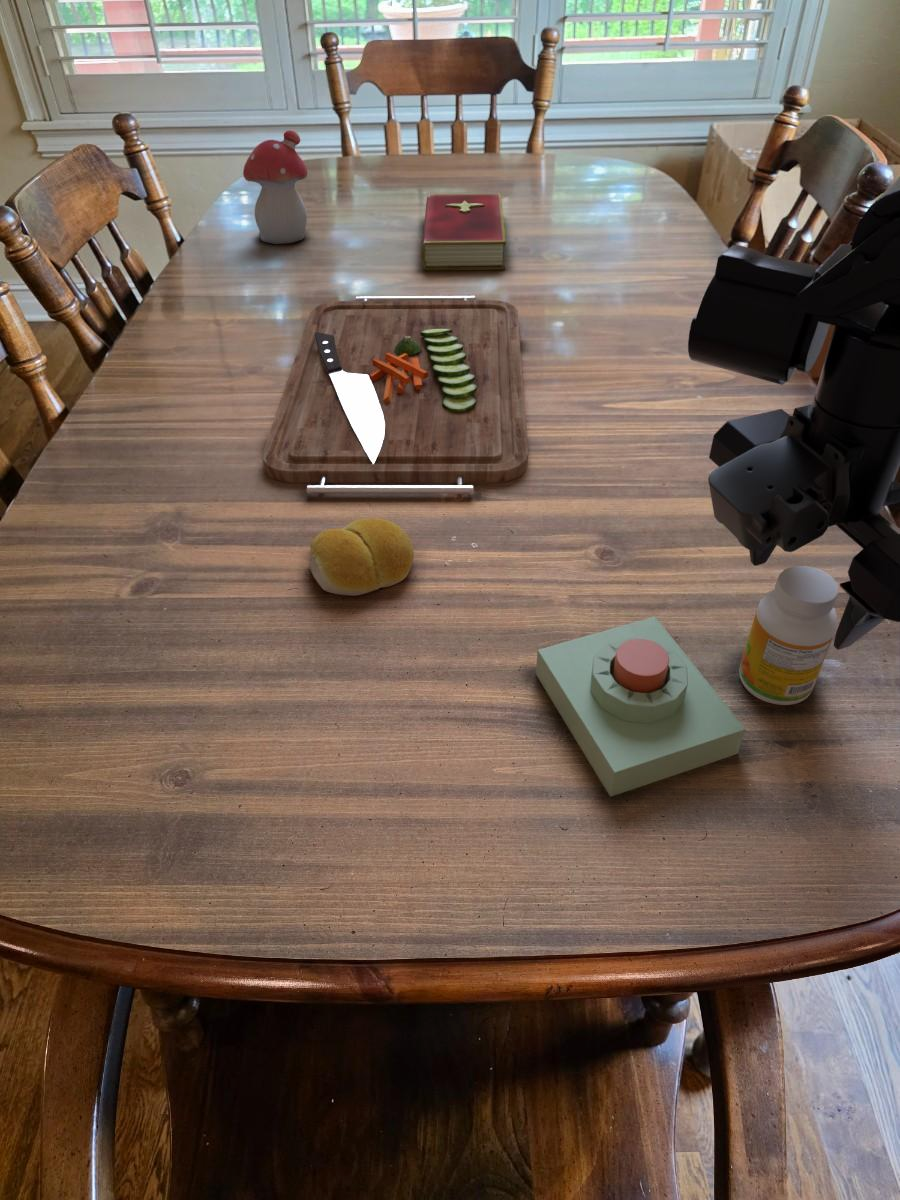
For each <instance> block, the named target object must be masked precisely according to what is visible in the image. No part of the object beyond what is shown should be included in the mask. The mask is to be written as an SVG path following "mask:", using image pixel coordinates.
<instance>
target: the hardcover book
mask: <svg viewBox="0 0 900 1200" xmlns="http://www.w3.org/2000/svg"><path fill="white" fill-rule="evenodd" d="M502 199H503V198H502V193H499V192H497V193H428V194H427V196H426V203H425V211H424V212H425V213H424V223H423V233H422V244H421V264H422V268H423V269H424V271H473V270H475V271H477V270H478V271H479V270H481V271H482V270H485V271H486V270H506V262H505V261H506V260H505V249H504V245H506V244H507V241H506V230H505V219H504V208H503V200H502Z"/></svg>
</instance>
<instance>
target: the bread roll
mask: <svg viewBox="0 0 900 1200" xmlns="http://www.w3.org/2000/svg"><path fill="white" fill-rule="evenodd" d="M308 556H309V558H308V563H307V564H308V567H309V569H310V572H311V573H312V576H313V578H314V580H315V581H316V583H317V584H318V585H319V586H320V588H321V589H322V590H323V591H325V592H327V593H330V594H334V595H340V596H341V595H342V596H352V597H353V596H360V595H364V594H369V593H371V592H373V591H377V590H379V589H380V588H389V587H391V586H394V585H396V584H398V583H400V582H401V581H403V580H405V579H406V578H407V576H408V575H409V573H410V571H411V568H412V565H413V562H414V557H415V556H414V547H413V543H412V541H411V539H410V536H408V534H407V532H406V530H404V529H403V528H402V527H400V525H398V524H397V523H395V522H393V521H391V520H388V519H384V518H376V517H375V518H358V519H357V520H354V521H352V522H350V523H348V524H347V525H345V526H343V527H342V528H328V529H325V530H322V531H320V532H319V533H318V534H317V535H316V536H315V537H314V539H313V540H312V541H311V542H310V551H309V554H308Z"/></svg>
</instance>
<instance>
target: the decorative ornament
mask: <svg viewBox="0 0 900 1200" xmlns="http://www.w3.org/2000/svg"><path fill="white" fill-rule="evenodd" d="M300 143H301V137H300V135H299V133H297V132H296V131H295V130H289V129H288V130H286V131H285V132H284V133H283V140H280V141H279V140H275V139H268V140H264V141H262V142H260V143H259V144H257V145H256V146H255V147H254V148H253V150H252V151H251V153H250V154H249V156H248V158H247V159H246V162H245V164H244V166H243V171H242V176H243V178H244V179H245V181H247V182H252V183H257V184H258V185H260V186H261V188H260V192H259V195H258V196H257V199H256V200H255V201H256V202H255V204H254V205H255V206H254V220H255V223H256V226H257V229H258V230H259V234H258V237H259V240H261V242H264V243H269V244H274V245H282V244H283V245H284V244H293V243H296V242H299V241H302V240H303V239H304V238H305V233H306V228H307V222H308V213H307V210H306V205H305V203H304V201H303V199H302V197H301V195H300V194H299V192H298V191H297V189H296V188H295V186H296V183H297V182H298V181H302V180H306V178H307V177H308V169H307V166H306V163H305V162H304V161H303V159H302V158H301V156H300V155H299V154H298V152H297V151H296V147H297V146H298V145H299V144H300Z"/></svg>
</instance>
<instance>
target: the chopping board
mask: <svg viewBox="0 0 900 1200" xmlns="http://www.w3.org/2000/svg"><path fill="white" fill-rule="evenodd" d="M518 311H519V310H518V309H517V307H516V306H515V305H513V304H512V303H510V302H507V301H503V300H494V299H476V296H475V295H409V296H408V295H407V296H406V295H404V296H403V295H400V296H399V295H397V296H395V295H393V296H388V295H386V296H385V295H383V296H381V295H380V296H378V295H377V296H375V295H374V296H355V300H335V301H328V302H324V303H321V304H318V305H317V306H315V307H314V308H313V309H311V311H310V313H309V315H308V319H307V321H306V325H305V328H304V331H303V334H302V336H301V339H300V342H299V345H298V348H297V351H296V354H295V357H294V360H293V363H292V366H291V369H290V372H289V375H288V378H287V381H286V384H285V387H284V389H283V393H282V395H281V398H280V402H279V404H278V406H277V410H276V413H275V416H274V419H273V422H272V425H271V428H270V431H269V434H268V437H267V440H266V443H265V446H264V448H263V451H262V462H263V468H264V472H265V473H266V474H267V476H268V477H269V478H271V479H274V480H276V481H278V482H282V483H284V482H285V483H292V484H297V483H298V484H299V483H300V484H303V483H304V484H305V483H306V484H308V485H306V493H307V494H308V495H311V494H312V495H315V494H316V495H321V494H322V495H325V494H326V495H330V494H331V495H332V494H333V495H338V494H339V495H343V494H344V495H352V494H353V495H378V494H379V495H422V494H423V495H425V494H426V495H473V494H474V489H475V488H474V485H473V484H495V483H497V484H498V483H505V482H510V481H512V480H515V479H517V478H520V477H521V476H522V475H523V474H524V473H526V471H527V468H528V463H529V446H528V434H527V433H528V432H527V431H528V430H527V421H526V419H527V418H526V405H525V392H524V378H523V365H522V353H521V339H520V327H519V312H518ZM309 483H310V484H309ZM312 483H315V485H314V484H313V485H311V484H312ZM316 483H317V484H316ZM330 483H331V484H332V485H331V484H330ZM334 483H335V484H334ZM336 483H337V484H336ZM338 483H339V485H338ZM340 483H341V484H340ZM347 483H348V485H346V484H347ZM349 483H350V485H349ZM353 483H354V485H353ZM355 483H359V484H358V485H357V484H356V485H355ZM362 483H363V484H365V483H366V484H367V485H366V484H365V485H363V484H362ZM370 483H371V485H369V484H370ZM373 483H374V484H375V485H373ZM377 483H379V485H378V484H377ZM382 483H383V484H387V483H388V484H390V485H383V484H382ZM395 483H396V484H398V485H396V484H395ZM399 483H400V484H399ZM326 484H327V485H326ZM328 484H330V485H328ZM333 484H334V485H333ZM343 484H344V485H343ZM351 484H352V485H351ZM361 484H362V485H361ZM376 484H377V485H376ZM381 484H382V485H381ZM391 484H392V485H391ZM393 484H394V485H393ZM402 484H405V485H402ZM406 484H407V485H406ZM408 484H410V485H408ZM411 484H415V485H411ZM417 484H418V485H417ZM419 484H424V485H419ZM425 484H429V485H425ZM430 484H433V485H430ZM435 484H436V485H435ZM437 484H438V485H437ZM441 484H447V485H441ZM449 484H452V485H449ZM455 484H456V485H455ZM463 484H468V485H463ZM469 484H470V485H469ZM471 484H472V485H471Z"/></svg>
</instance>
